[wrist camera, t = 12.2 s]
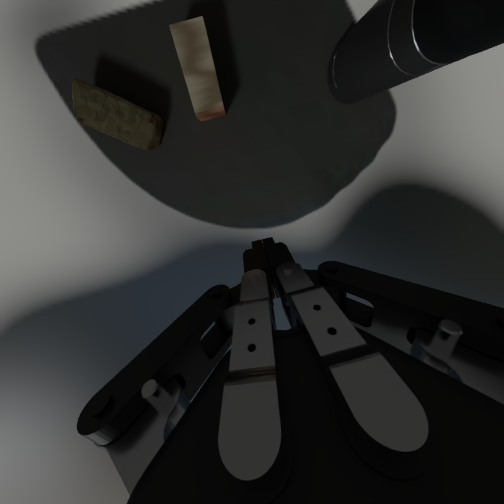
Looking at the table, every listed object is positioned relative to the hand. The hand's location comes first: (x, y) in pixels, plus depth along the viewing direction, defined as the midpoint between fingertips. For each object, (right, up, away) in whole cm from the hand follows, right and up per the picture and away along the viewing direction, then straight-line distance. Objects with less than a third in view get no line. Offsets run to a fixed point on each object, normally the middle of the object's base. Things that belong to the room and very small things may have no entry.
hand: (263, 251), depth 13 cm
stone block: (-22, +23, +19) cm, 37 cm away
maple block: (-7, +23, +18) cm, 30 cm away
